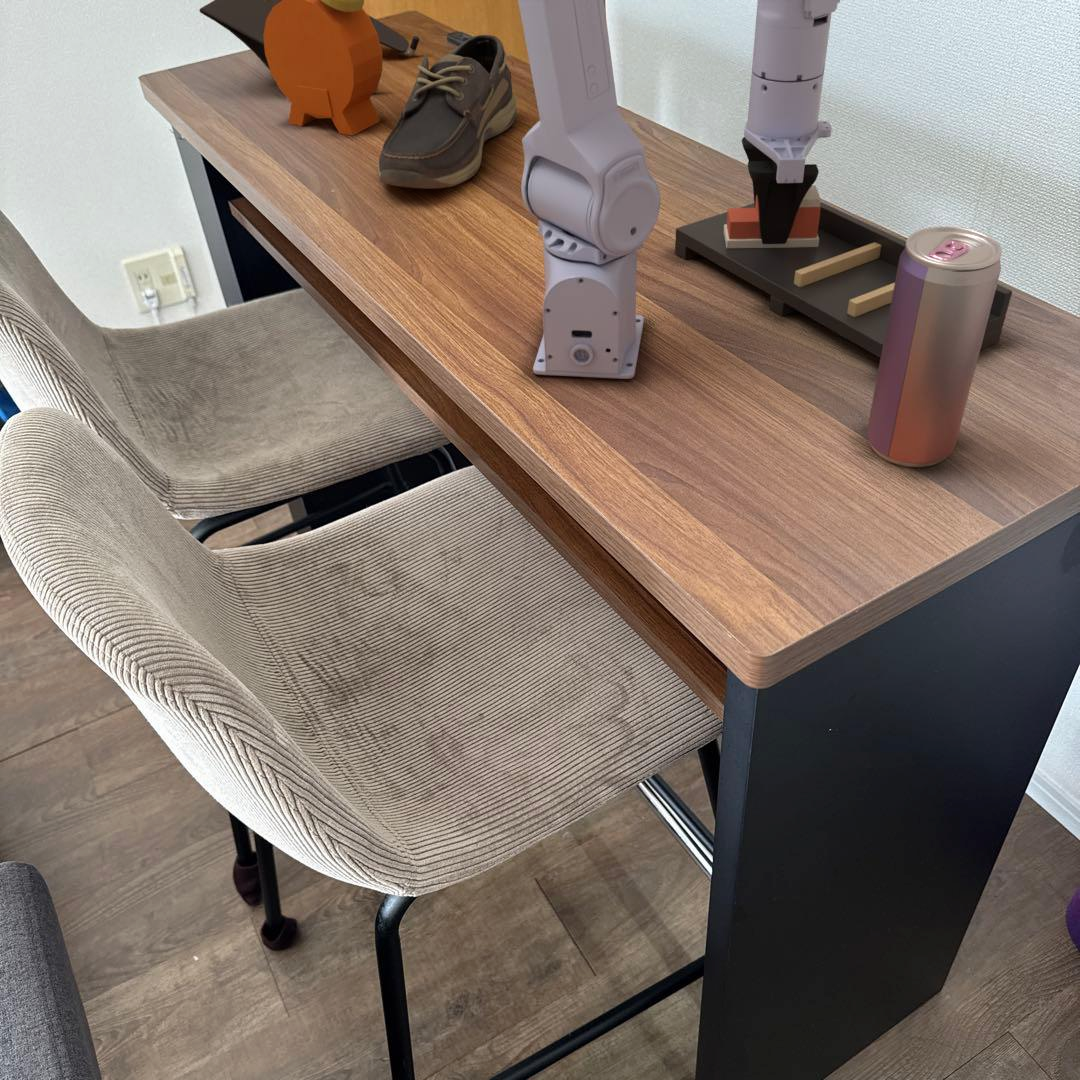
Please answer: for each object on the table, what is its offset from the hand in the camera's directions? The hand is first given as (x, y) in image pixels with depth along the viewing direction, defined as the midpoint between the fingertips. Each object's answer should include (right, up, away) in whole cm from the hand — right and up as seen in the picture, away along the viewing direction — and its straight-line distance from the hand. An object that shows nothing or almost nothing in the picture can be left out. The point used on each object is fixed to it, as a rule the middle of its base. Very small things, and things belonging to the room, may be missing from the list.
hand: (771, 231), depth 94 cm
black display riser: (+4, -6, -2) cm, 8 cm away
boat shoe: (-31, +16, +26) cm, 44 cm away
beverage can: (+5, -21, -19) cm, 29 cm away
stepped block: (0, -1, +1) cm, 1 cm away
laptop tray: (-49, +37, +51) cm, 80 cm away
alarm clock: (-46, +24, +36) cm, 63 cm away
